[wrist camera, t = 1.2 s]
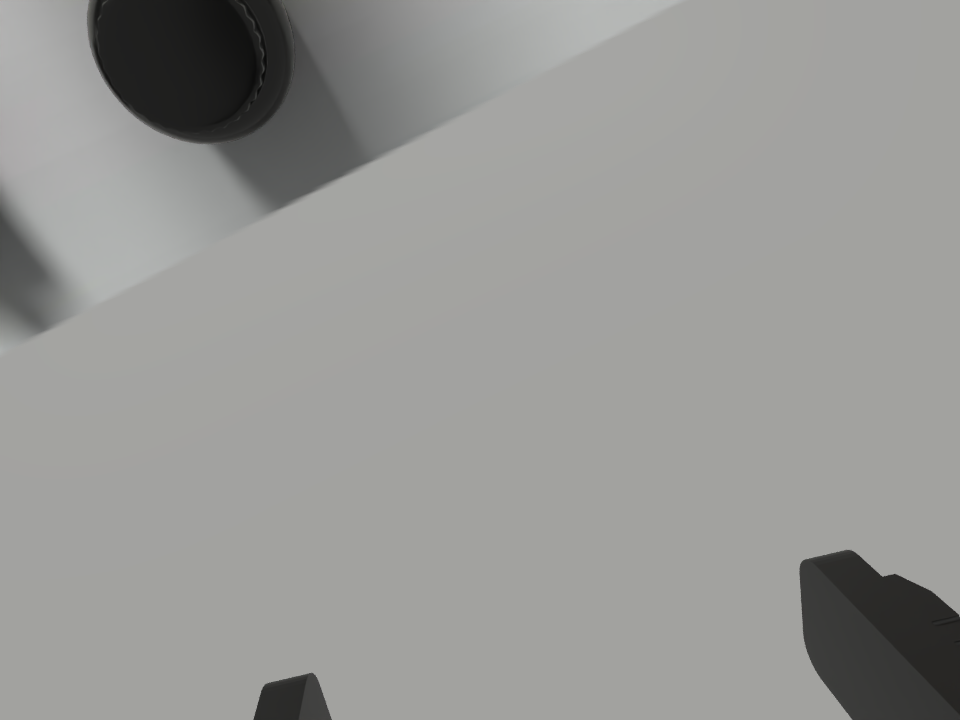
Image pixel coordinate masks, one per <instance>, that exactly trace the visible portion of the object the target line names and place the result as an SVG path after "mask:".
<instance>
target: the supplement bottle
mask: <svg viewBox="0 0 960 720" xmlns="http://www.w3.org/2000/svg"><path fill="white" fill-rule="evenodd" d="M87 28H88V37H89V43H90V47H91V51H92V54H93V57H94V60H95V63H96V65H97V68H98V70H99V72H100V74H101V76H102V78H103V79H104V81H105V83H106V84H107V86H108V87H109V89H110V90H111V92H112V93H113V95H114V96H115V97H116V98H117V99H118V101H119V102H120V103H121V104H122V105H123V106H124V107H125V108H126V109H127V110H128V111H129V112H130V113H131V114H133V115H134V116H135V117H136V118H137V119H139V120H140V121H142V122H143V123H144V124H146V125H147V126H149V127H151V128H152V129H154V130H156V131H158V132H160V133H162V134H164V135H167V136H169V137H172V138H174V139H178V140H181V141H185V142H190V143H197V144H220V143H226V142H231V141H234V140H238V139H240V138H243V137H245V136H247V135H249V134H251V133H253V132H255V131H256V130H258V129H259V128H261V127H262V126H263V125H264V124H266V123H267V122H268V121H269V120H270V119H271V118H272V117H273V116H274V114H275V113H276V112H277V110H278V109H279V108H280V106H281V104H282V103H283V101H284V99H285V97H286V95H287V93H288V90H289V88H290V85H291V81H292V77H293V72H294V65H295V46H294V38H293V33H292V28H291V24H290V21H289V18H288V15H287V12H286V9H285V7H284V5H283V2H282V0H89V4H88V12H87Z"/></svg>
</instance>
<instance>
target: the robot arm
mask: <svg viewBox="0 0 960 720" xmlns="http://www.w3.org/2000/svg"><path fill="white" fill-rule="evenodd" d="M800 587H801V603H802V619H803V634H804V641H805V645H806V649H807V652H808V655H809V657H810V660H811V662H812V664H813V666H814V668H815V670H816V671H817V673H818V675H819V676H820V678H821V679H822V681H823V682H824V683H825V684H826V686H827V687H828V688H829V690H830V691H831V692H832V694H833V695H834V696H835V698H836V699H837V700H838V701H839V703H840V704H841V705H842V707H843V708H844V709H845V711H846V712H847V713H848V714H849V716H850V717H851V718H852V720H960V617H959V615H958V614H957V613H956V612H955V611H954V610H953V609H952V608H950V607H949V606H948V605H947V604H946V603H944V602H943V601H942V600H941V599H940V598H939V597H938V596H936V595H935V594H934V593H933V592H932V591H930V590H928V589H926V588H924V587H921V586H919V585H917V584H915V583H913V582H911V581H909V580H907V579H905V578H903V577H901V576H898V575H896V574H893V575H888V576H884V577H882V576H881V575H880V574H879V573H878V572H876V571H875V570H874V569H873V568H872V567H871V566H870V565H869V564H868V563H866V562H865V561H864V560H863V559H862V558H861V557H860V556H859V555H857V554H856V553H855V552H853V551H851V550H844V551H840V552H836V553H831V554H827V555H823V556H819V557H814V558H810V559H806V560H803V561H802V563H801V564H800ZM254 720H332V719H331V716H330V714H329V710H328V708H327V705H326V702H325V699H324V696H323V693H322V690H321V687H320V684H319V682H318V680H317V677H316V676H315V675H314V674H313V673H309V674H305V675H301V676H296V677H292V678H288V679H284V680H279V681H275V682H271V683H268V684H265V686H264V687H263V689H262V691H261V695H260V698H259V702H258V705H257V709H256V712H255V716H254Z"/></svg>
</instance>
